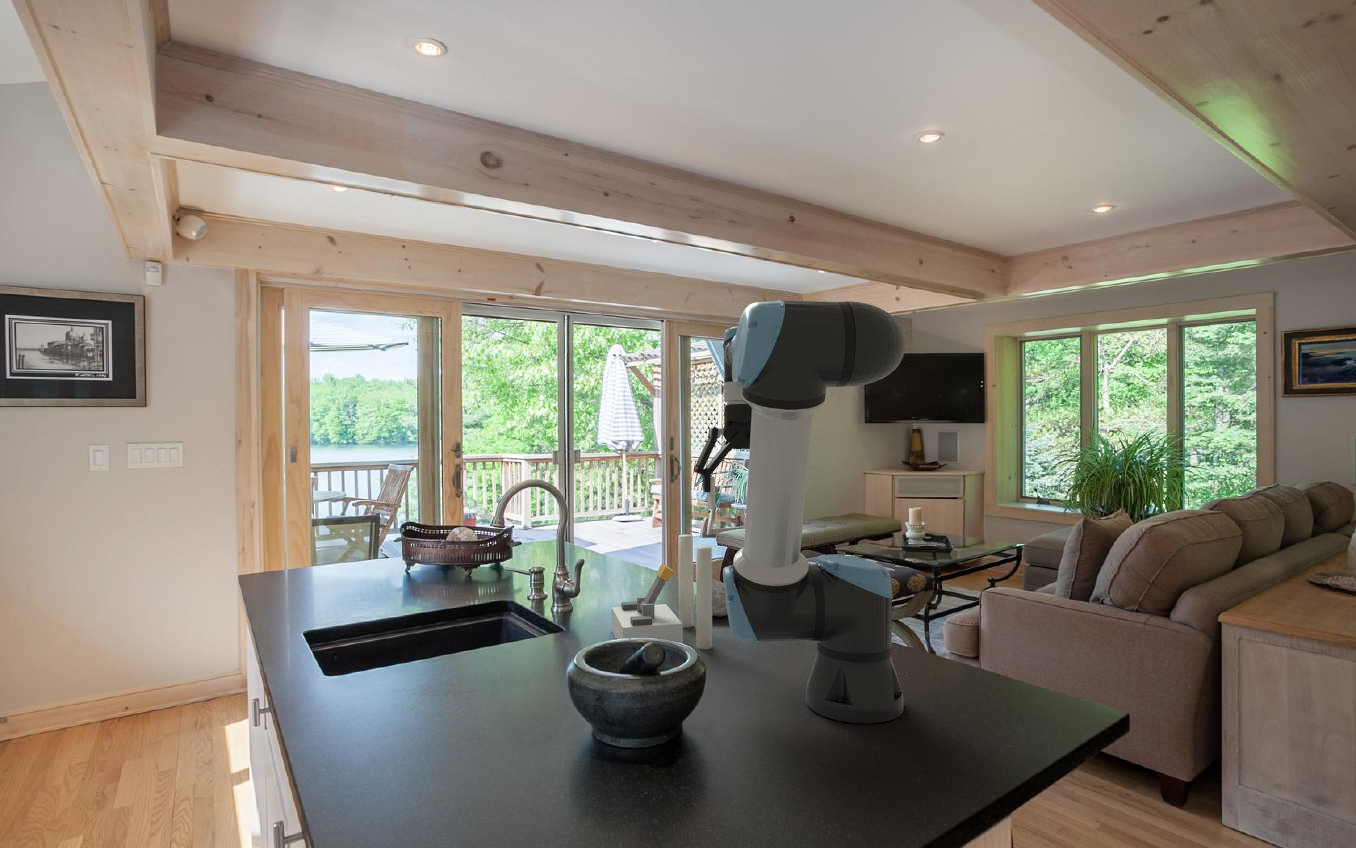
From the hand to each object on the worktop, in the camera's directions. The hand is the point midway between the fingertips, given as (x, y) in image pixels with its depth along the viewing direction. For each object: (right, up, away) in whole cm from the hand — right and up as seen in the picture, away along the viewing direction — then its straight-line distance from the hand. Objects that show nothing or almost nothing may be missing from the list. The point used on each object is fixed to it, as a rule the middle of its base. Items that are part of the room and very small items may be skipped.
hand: (743, 508), depth 147 cm
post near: (-8, -28, -2) cm, 29 cm away
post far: (-12, -28, +14) cm, 33 cm away
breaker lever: (-21, -22, +3) cm, 30 cm away
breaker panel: (-20, -28, +4) cm, 34 cm away
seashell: (-4, -28, +23) cm, 36 cm away
